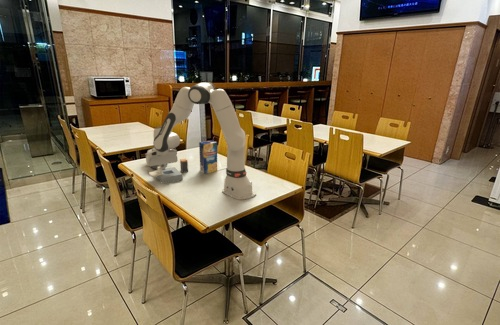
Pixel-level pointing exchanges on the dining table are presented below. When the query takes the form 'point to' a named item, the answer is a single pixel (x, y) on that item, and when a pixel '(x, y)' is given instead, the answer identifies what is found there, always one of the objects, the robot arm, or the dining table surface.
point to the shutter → (156, 172)
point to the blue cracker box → (208, 156)
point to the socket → (170, 175)
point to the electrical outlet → (155, 165)
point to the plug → (184, 165)
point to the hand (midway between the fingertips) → (163, 170)
